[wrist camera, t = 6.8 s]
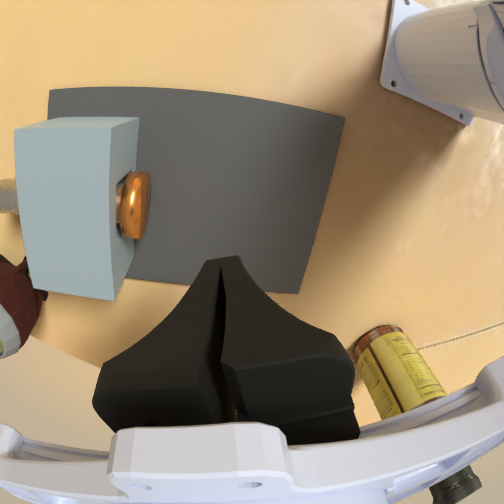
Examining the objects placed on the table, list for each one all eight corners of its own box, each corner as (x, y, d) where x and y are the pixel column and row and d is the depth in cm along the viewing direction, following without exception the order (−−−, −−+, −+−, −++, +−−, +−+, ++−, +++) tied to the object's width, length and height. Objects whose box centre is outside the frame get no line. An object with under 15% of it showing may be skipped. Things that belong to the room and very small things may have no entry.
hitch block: (141, 117, 17) (111, 126, 12) (135, 253, 22) (114, 301, 17) (61, 116, 16) (14, 129, 11) (66, 245, 21) (33, 288, 16)
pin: (153, 165, 18) (137, 183, 15) (150, 222, 20) (136, 251, 17) (16, 160, 16) (-16, 177, 13) (20, 211, 18) (-8, 234, 15)
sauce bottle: (370, 368, 32) (431, 517, 15) (339, 351, 30) (405, 529, 12) (413, 332, 30) (496, 479, 13) (388, 309, 27) (485, 487, 10)
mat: (342, 117, 19) (345, 118, 18) (296, 290, 25) (298, 293, 25) (52, 89, 15) (49, 89, 15) (59, 265, 22) (57, 268, 21)
